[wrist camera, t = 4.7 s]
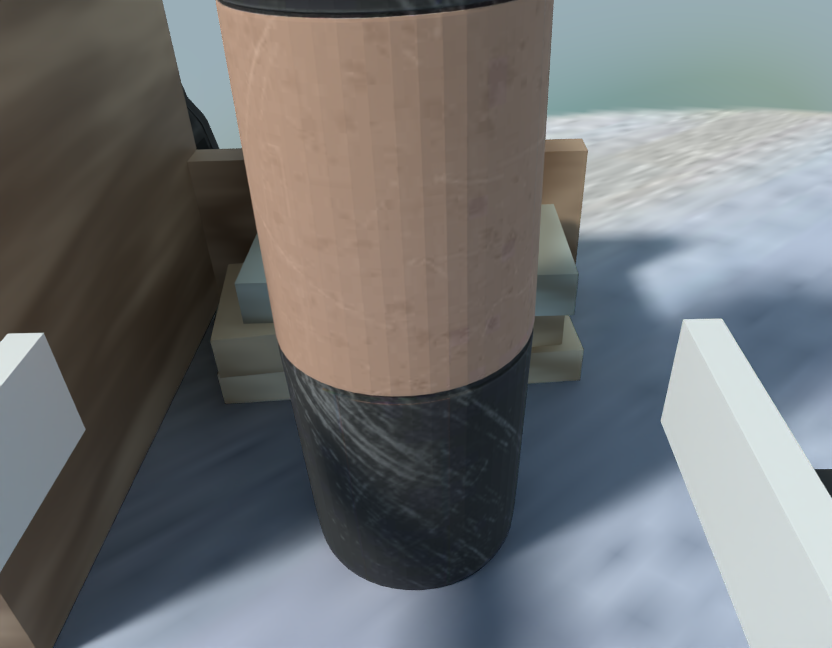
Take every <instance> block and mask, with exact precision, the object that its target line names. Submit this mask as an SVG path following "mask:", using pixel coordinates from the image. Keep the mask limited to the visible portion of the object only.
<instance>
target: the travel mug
mask: <svg viewBox="0 0 832 648" xmlns="http://www.w3.org/2000/svg"><path fill="white" fill-rule="evenodd" d="M553 3H554V0H216V6H217V11H218V17H219V23H220V28H221V34H222V39H223V45H224V51H225V56H226V62H227V67H228V72H229V78H230V84H231V89H232V95H233V100H234V105H235V111H236V117H237V122H238V128H239V133H240V139H241V144H242V150H243V156H244V161H245V167H246V172H247V178H248V183H249V189H250V194H251V200H252V205H253V211H254V216H255V222H256V228H257V233H258V239H259V244H260V250H261V255H262V261H263V266H264V272H265V277H266V283H267V288H268V294H269V299H270V305H271V310H272V316H273V322H274V327H275V333H276V338H277V341H278V346H279V352H280V356H281V360H282V364H283V369H284V373H285V377H286V382H287V386H288V390H289V394H290V399H291V403H292V407H293V412H294V416H295V420H296V424H297V429H298V433H299V437H300V442H301V446H302V450H303V454H304V459H305V463H306V467H307V472H308V476H309V480H310V484H311V489H312V493H313V497H314V501H315V505H316V509H317V513H318V517H319V521H320V525H321V528H322V531H323V534H324V536H325V539H326V541H327V543H328V545H329V547H330V549H331V550H332V551H333V553H334V554H335V555H336V557H337V558H338V559H339V560H340V561H341V562H342V563H343V564H344V565H345V566H346V567H347V568H348V569H350V570H351V571H352V572H354V573H355V574H357V575H358V576H360V577H362V578H364V579H366V580H368V581H370V582H373V583H376V584H379V585H381V586H386V587H390V588H395V589H404V590H424V589H431V588H438V587H441V586H445V585H449V584H452V583H454V582H457V581H460V580H462V579H464V578H466V577H468V576H470V575H471V574H473V573H475V572H476V571H477V570H479V569H480V568H482V567H483V566H484V565H485V564H486V563H487V562H488V561H489V560H491V559H492V558H493V556H494V555H495V554H496V553H497V551H498V550H499V549H500V547H501V545H502V543H503V542H504V540H505V538H506V536H507V534H508V531H509V528H510V525H511V520H512V515H513V509H514V502H515V494H516V486H517V477H518V468H519V459H520V450H521V441H522V432H523V423H524V414H525V405H526V396H527V386H528V377H529V368H530V359H531V350H532V341H533V325H534V321H535V305H536V288H537V271H538V254H539V238H540V221H541V204H542V187H543V171H544V154H545V137H546V120H547V104H548V86H549V70H550V53H551V37H552V20H553Z"/></svg>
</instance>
